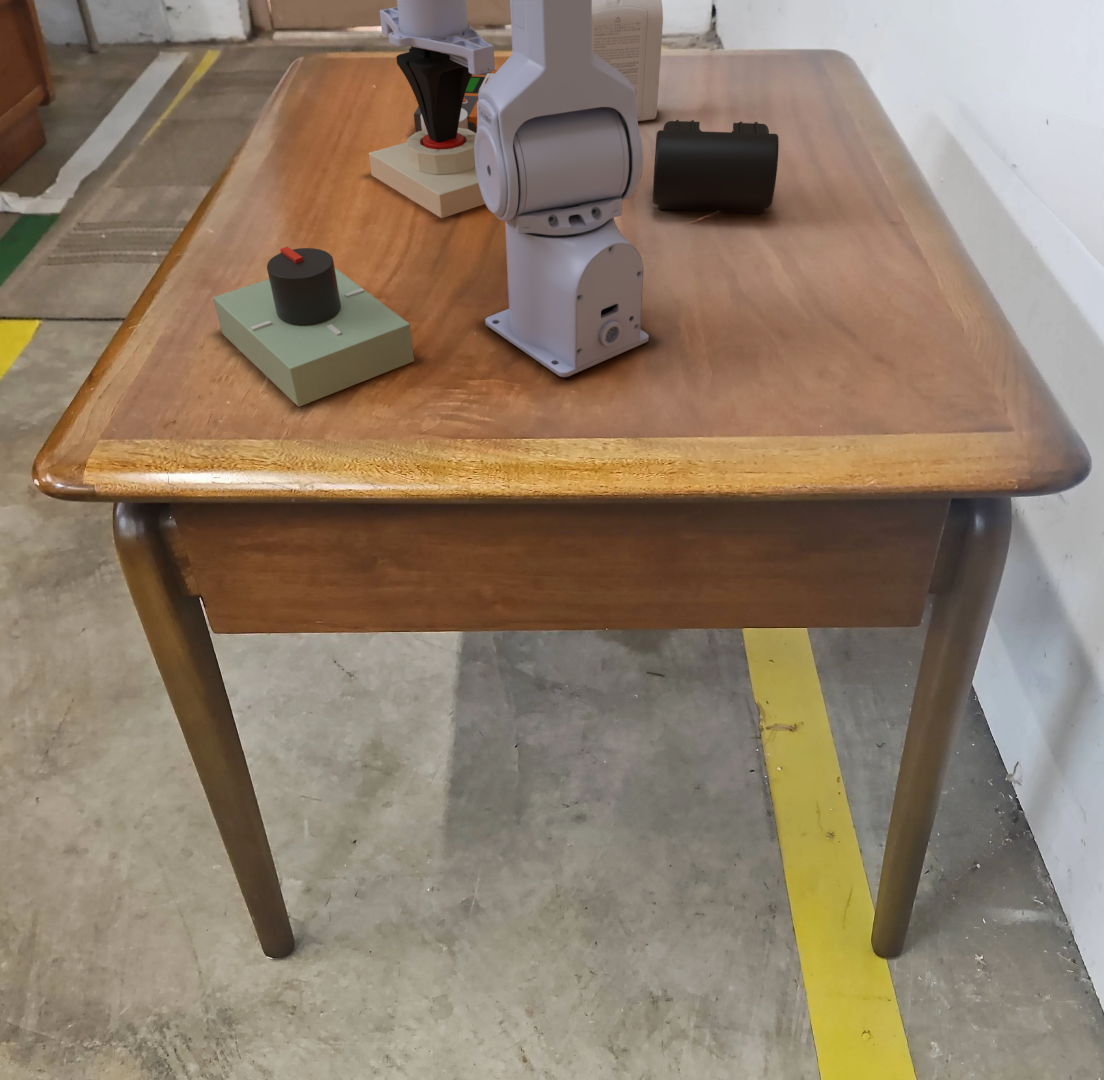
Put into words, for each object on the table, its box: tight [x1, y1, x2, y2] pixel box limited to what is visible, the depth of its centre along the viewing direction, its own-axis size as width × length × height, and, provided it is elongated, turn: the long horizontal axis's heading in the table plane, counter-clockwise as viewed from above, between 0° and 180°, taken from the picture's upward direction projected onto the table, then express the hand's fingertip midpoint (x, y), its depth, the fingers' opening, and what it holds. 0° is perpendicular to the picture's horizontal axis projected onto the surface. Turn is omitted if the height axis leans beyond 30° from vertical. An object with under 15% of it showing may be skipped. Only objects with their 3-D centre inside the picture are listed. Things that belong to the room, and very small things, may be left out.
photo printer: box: [592, 0, 664, 122], centre depth 101 cm, size 10×4×12 cm, turn 103°
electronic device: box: [413, 69, 499, 133], centre depth 105 cm, size 7×3×15 cm
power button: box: [423, 133, 464, 150], centre depth 92 cm, size 4×4×2 cm
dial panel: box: [212, 267, 415, 407], centre depth 72 cm, size 12×9×3 cm
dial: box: [266, 246, 341, 325], centre depth 69 cm, size 4×4×4 cm
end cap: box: [652, 119, 780, 214], centre depth 87 cm, size 10×7×7 cm
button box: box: [368, 128, 486, 219], centre depth 92 cm, size 12×9×4 cm
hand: (443, 138), depth 91 cm, fingers closed, pressing on power button
